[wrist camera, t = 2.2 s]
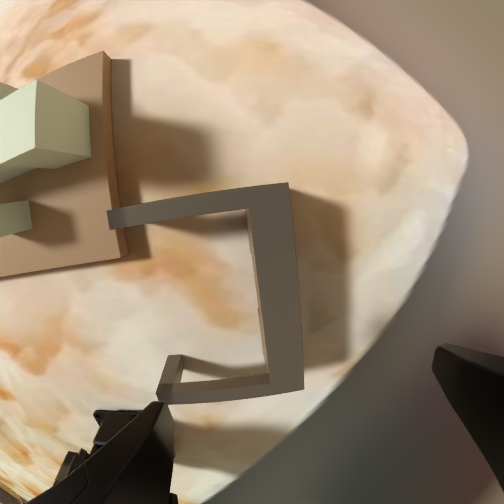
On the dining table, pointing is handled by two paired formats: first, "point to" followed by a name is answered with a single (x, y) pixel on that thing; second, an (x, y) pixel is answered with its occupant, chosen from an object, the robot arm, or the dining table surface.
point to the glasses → (267, 286)
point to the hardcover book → (9, 496)
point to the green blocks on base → (58, 170)
